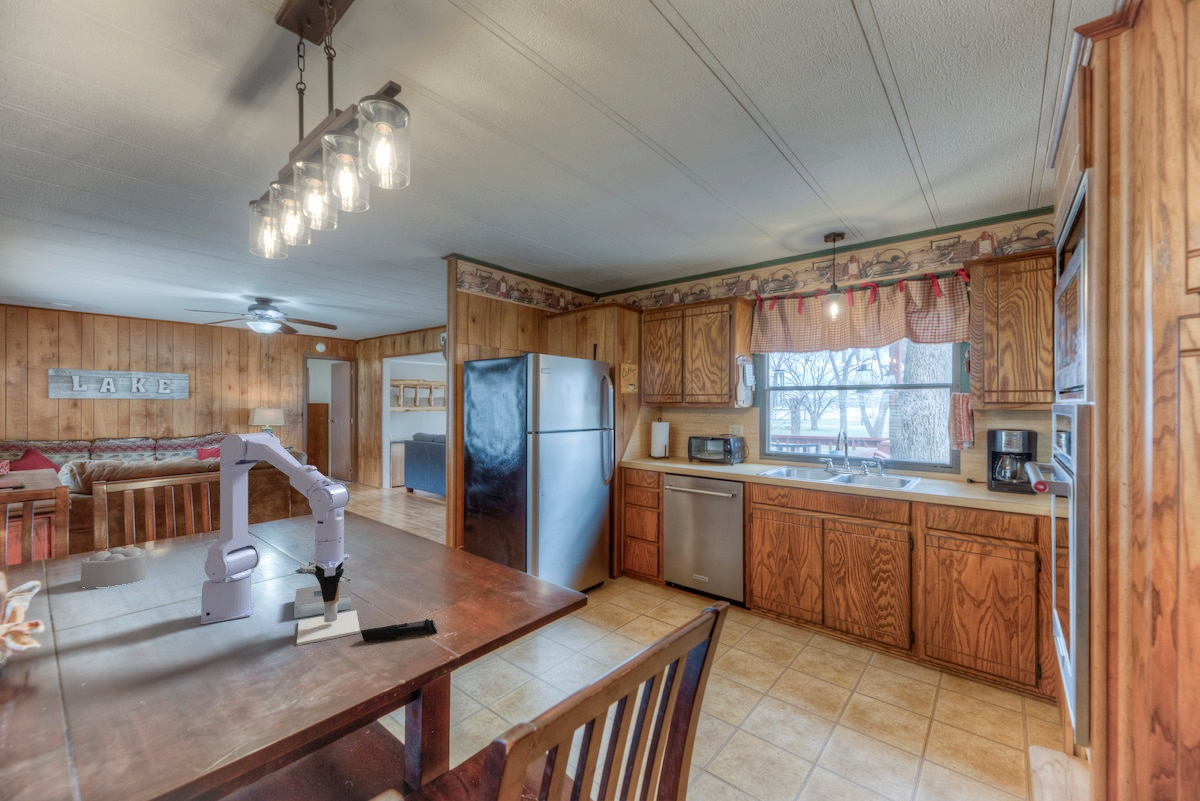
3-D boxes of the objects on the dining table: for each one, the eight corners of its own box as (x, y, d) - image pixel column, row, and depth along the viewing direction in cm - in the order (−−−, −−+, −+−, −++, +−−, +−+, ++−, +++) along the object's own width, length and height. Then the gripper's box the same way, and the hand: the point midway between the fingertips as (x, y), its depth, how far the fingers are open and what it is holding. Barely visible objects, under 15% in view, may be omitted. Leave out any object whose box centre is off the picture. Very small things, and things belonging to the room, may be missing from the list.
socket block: (294, 618, 117) (294, 606, 117) (296, 600, 128) (296, 589, 128) (351, 608, 123) (351, 596, 123) (348, 592, 134) (348, 581, 134)
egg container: (145, 581, 140) (145, 550, 140) (78, 593, 131) (78, 560, 131) (145, 571, 148) (145, 542, 148) (82, 582, 139) (82, 551, 139)
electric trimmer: (361, 640, 108) (361, 625, 108) (436, 628, 114) (436, 614, 114) (360, 648, 105) (360, 633, 105) (437, 635, 111) (437, 621, 111)
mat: (296, 645, 105) (296, 642, 105) (298, 623, 115) (298, 620, 115) (359, 633, 111) (359, 630, 111) (356, 612, 121) (356, 610, 121)
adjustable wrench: (354, 585, 140) (354, 579, 140) (330, 592, 135) (330, 585, 135) (318, 564, 156) (318, 559, 156) (295, 570, 151) (295, 564, 151)
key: (323, 623, 111) (323, 585, 111) (323, 618, 114) (323, 581, 114) (338, 621, 113) (338, 583, 113) (337, 616, 115) (338, 579, 115)
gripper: (351, 544, 109) (350, 606, 109) (347, 528, 121) (347, 584, 121) (313, 548, 105) (313, 612, 105) (314, 532, 118) (313, 589, 118)
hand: (329, 598), depth 113 cm, fingers closed on key, 3 cm apart
